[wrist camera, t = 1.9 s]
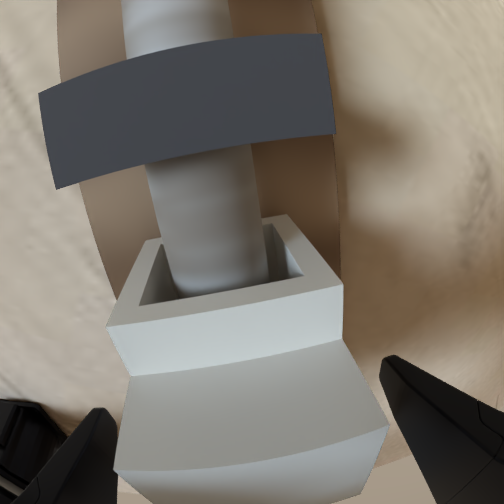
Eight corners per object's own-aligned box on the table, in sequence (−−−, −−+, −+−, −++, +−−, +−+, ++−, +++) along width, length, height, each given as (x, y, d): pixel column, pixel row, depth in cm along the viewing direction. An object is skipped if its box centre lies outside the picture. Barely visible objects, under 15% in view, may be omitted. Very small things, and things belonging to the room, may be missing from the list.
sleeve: (298, 337, 14) (360, 494, 6) (184, 358, 14) (183, 524, 6) (286, 214, 11) (407, 370, 4) (145, 240, 11) (70, 425, 4)
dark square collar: (276, 129, 10) (336, 133, 5) (125, 157, 10) (56, 189, 5) (268, 75, 9) (321, 33, 4) (116, 104, 9) (38, 93, 4)
